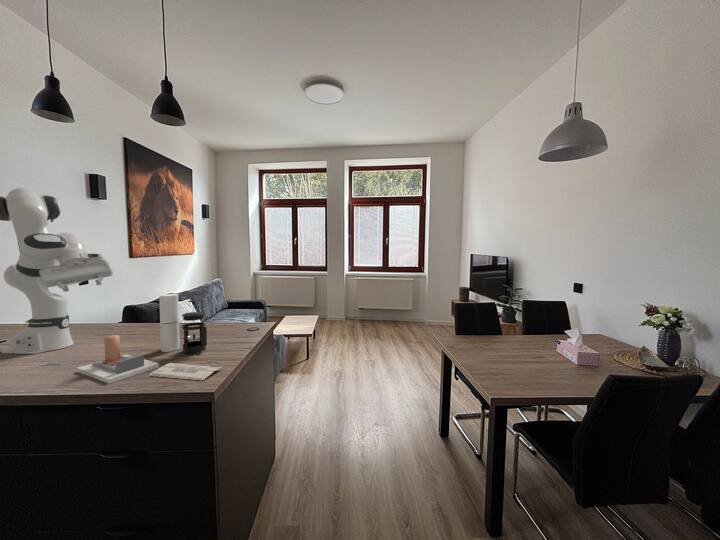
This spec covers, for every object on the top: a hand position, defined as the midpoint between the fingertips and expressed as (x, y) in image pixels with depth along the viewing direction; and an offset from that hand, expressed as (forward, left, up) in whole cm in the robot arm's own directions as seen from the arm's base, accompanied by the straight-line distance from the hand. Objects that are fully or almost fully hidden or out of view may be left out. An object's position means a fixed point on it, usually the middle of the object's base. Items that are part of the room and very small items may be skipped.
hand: (82, 287), depth 112 cm
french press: (+36, +11, -31) cm, 48 cm away
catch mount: (+15, -7, -31) cm, 35 cm away
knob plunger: (+12, -5, -29) cm, 31 cm away
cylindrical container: (+24, +15, -31) cm, 42 cm away
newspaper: (+41, -13, -31) cm, 54 cm away
